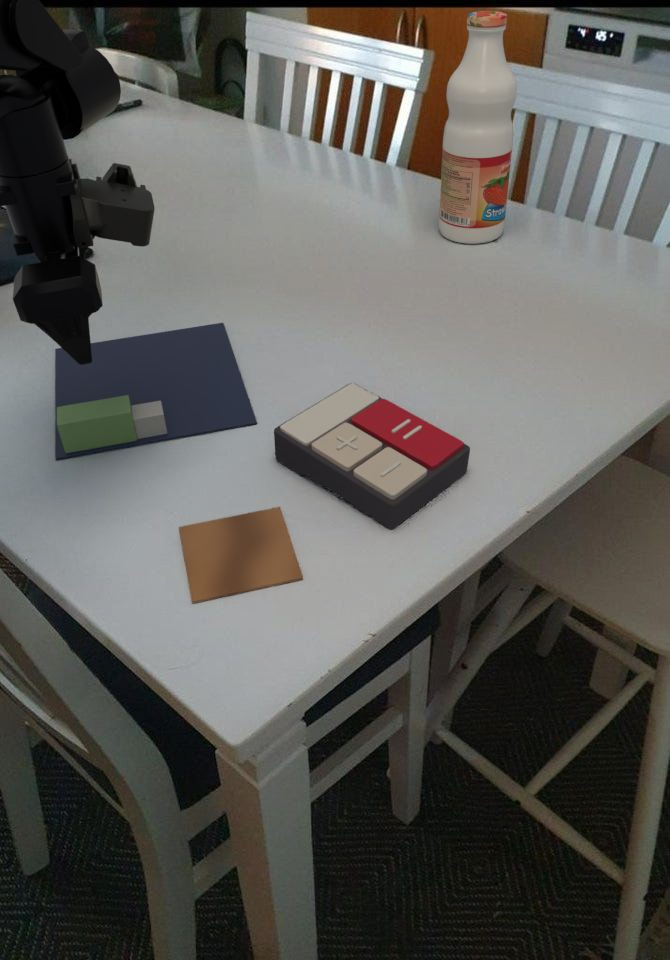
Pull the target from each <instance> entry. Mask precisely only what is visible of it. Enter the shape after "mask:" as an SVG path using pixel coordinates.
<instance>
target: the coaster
mask: <svg viewBox="0 0 670 960" xmlns="http://www.w3.org/2000/svg"><path fill="white" fill-rule="evenodd" d="M178 530H179V536H180V541H181V547H182V552H183V559H184V565H185V570H186V575H187V582H188V587H189V592H190V597H191V599H190V600H191V603H192V604H197V603H201V602H207V601H210V600H215V599H219V598H224V597H228V596H229V597H230V596H232V595H238V594H244V593H247V592H252V591H257V590H262V589H266V588H271V587H274V586H275V587H276V586H280V585H284V584H288V583H294V582H298V581H302V580H304V577H303V576H304V575H303V573H302V570H301V567H300V563H299V560H298V558H297V555H296V552H295V549H294V546H293V543H292V540H291V536H290V534H289V531H288V527H287V525H286V522H285V518H284V515H283V512H282V509H281V507H280V506H276V507H272V508H266V509H261V510H258V511H252V512H247V513H242V514H237V515H232V516H227V517H222V518H217V519H213V520H207V521H202V522H197V523H193V524H187V525H184V526H179V527H178Z"/></svg>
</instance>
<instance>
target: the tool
mask: <svg viewBox="0 0 670 960" xmlns="http://www.w3.org/2000/svg"><path fill="white" fill-rule="evenodd" d="M57 427H58V431H59V434H60V437H61V440H62V443H63V447H64V450H65V453H72V452H78V451H83V450H89V449H94V448H100V447H105V446H111V445H116V444H122V443H128V442H133V441H137V439H141V438H147V437H152V436H158V435H163V434H167V428H166V422H165V417H164V412H163V407H162V403H161V401H155V402H149V403H143V404H137V405H132V406H131V403H130V398H129V395H126V396H120V397H114V398H108V399H102V400H96V401H90V402H84V403H78V404H73V405H67V406H61V407H57Z"/></svg>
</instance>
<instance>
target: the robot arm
mask: <svg viewBox="0 0 670 960" xmlns="http://www.w3.org/2000/svg"><path fill="white" fill-rule="evenodd" d="M89 41H90V40H89V37H88V33H87V31H86V30H85V29H68V28H67V29H66V28H65V29H62V28H61V26H60V25H59V24H58V23H57V21H56V20H55V18H54V17H52V15H51V14H50V13H49V11H48V10H47V9H46V7H45V6H44V5H43V3H42V2H41V1H40V0H0V71H15V75H13V74H0V207H5V210H6V213H7V216H8V219H9V221H10V224H11V227H12V230H13V232H14V233H13V240H12V244H13V245H12V246H13V247H14V251H15V254H16V256H17V257H19V256H25V255H31V254H32V255H34V257H36V258H37V259H38V261H39V262H35V263H30V264H23V265H22V266H21V267H20V269H19V270H18V271H17V273H16V274H15V276H14V278H13V290H12V291H13V292H12V302H13V304H14V306H15V308H16V309H15V310H16V312H17V315H18V317H19V320H20V322H24V323H27V324H31V325H35V326H36V327H37V328H38V329H39V330H41V331H42V332H43V333H45V334H46V335H47V336H48V337H49V338H50V339H51V340H53V341H54V342H55V344H57V345H58V346H59V348H62V349H63V350H65V351H66V352H67V353H68V354H69V355H70V356H71V357H72V358H73V359H74V360H75V361H76V362H77V363H78V364H80V365H83V364H89V363H91V362H92V353H91V343H92V342H91V331H90V322H89V321H90V319H89V318H90V317H91V316H92V314H94V313H96V312H99V310H100V309H101V308H102V307H103V293H102V287H101V282H100V278H99V274H98V271H97V267H96V264H95V263H93V262H92V261H89V259H87V258H86V256H85V255H86V251H87V250H88V248H89V247H94V244H95V243H94V239H95V238H100V239H105V240H110V241H115V242H116V241H117V242H123V243H129V244H131V245H132V246H134V247H147V246H149V245H150V242H151V237H152V236H151V235H152V229H153V221H154V216H155V209H156V207H155V203H154V199H153V194H152V192H151V191H150V190H148V189H147V187H146V185H145V184H140V185H139V186H138V185H137V182H136V179H135V176H134V173H133V170H132V168H131V166H130V165H127V164H122V163H117V162H113V163H111V165H110V166H109V168H108V169H107V171H106V172H105V174H104V175H103V176H96V178H95V180H94V179H87V178H81V174H80V170H79V168H78V165H77V163H73V161H72V158H69V154H68V152H67V148H66V145H65V141H67V140H71V139H72V140H73V139H75V138H76V137H78V136H79V135H81V134H82V133H84V132H85V131H87V130H89V128H91V127H93V126H94V125H96V124H97V123H98V122H100V121H101V120H102V119H104V118H105V117H107V116H108V115H110V114H111V113H112V112H114V111H115V109H117V107H118V105H119V103H120V100H121V94H122V93H121V92H122V88H121V81H120V78H119V75H118V73H116V72H115V69H114V67H113V65H112V64H111V62H109V61H110V60H109V59H108V58H107V57H106V56H105V55H104V54H102V52H100V51H99V50H98V49H96V48H95V47H94V46H91V45H90V42H89Z"/></svg>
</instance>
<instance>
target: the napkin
mask: <svg viewBox="0 0 670 960" xmlns="http://www.w3.org/2000/svg"><path fill="white" fill-rule="evenodd" d="M227 332H228V331H227V329H226V326H225V323H224V322H217V323H212V324H205V325H199V326H192V327H186V328H180V329H173V330H172V329H171V330H167V331H161V332H160V331H159V332H154V333H148V334H141V335H135V336H128V337H122V338H115V339H110V340H103V341H97V342H96V341H95V342H91V353H92V362H91V363H89V364H83V365H80V364H78V363H77V362H76V361H75V360H74V359H73V358H72V357H71V356H70V355H69V354H68V353H67V352H66V351H65V350H63V349H62V348H61V347H58V348H55V349H54V353H55V354H54V367H55V368H54V398H55V400H54V428H55V429H54V444H55V445H54V449H55V450H54V455H55V456H54V458H55V461H61V460H66V459H67V460H68V459H72V458H73V459H74V458H78V457H85V456H89V455H94V454H100V453H105V452H111V451H116V450H123V449H129V448H133V447H139V446H145V445H150V444H156V443H161V442H167V441H171V440H172V441H173V440H177V439H178V440H179V439H183V438H184V439H185V438H188V437H189V438H190V437H194V436H199V435H205V434H210V433H215V432H223V431H226V430H233V429H238V428H243V427H250V426H254V425H258V421H257V419H256V415H255V412H254V409H253V406H252V403H251V401H250V397H249V395H248V391H247V389H246V386H245V383H244V380H243V376H242V374H241V370H240V367H239V365H238V362H237V359H236V356H235V353H234V350H233V347H232V344H231V342H230V338H229V335H228V333H227ZM126 395H129V398H130V403H131V406H132V405H137V404H143V403H149V402H155V401H161V403H162V407H163V412H164V417H165V422H166V428H167V434H163V435H158V436H152V437H147V438H141V439H137V441H133V442H128V443H122V444H116V445H111V446H105V447H100V448H94V449H89V450H83V451H78V452H72V453H65V450H64V447H63V443H62V440H61V437H60V434H59V431H58V427H57V407H61V406H67V405H73V404H78V403H84V402H90V401H96V400H102V399H108V398H114V397H120V396H126Z"/></svg>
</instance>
